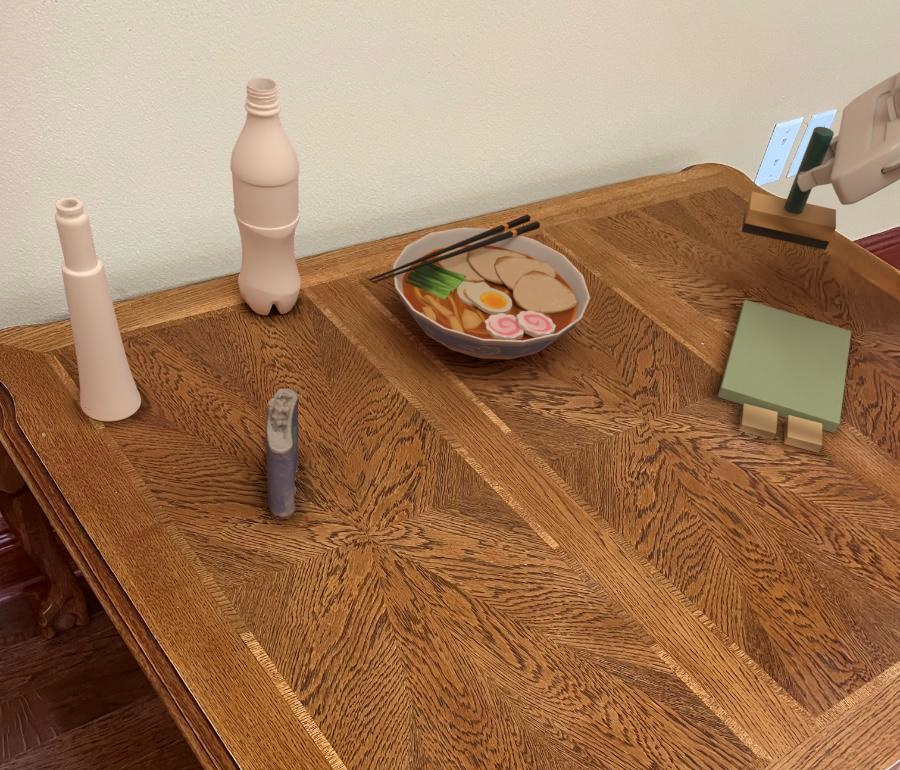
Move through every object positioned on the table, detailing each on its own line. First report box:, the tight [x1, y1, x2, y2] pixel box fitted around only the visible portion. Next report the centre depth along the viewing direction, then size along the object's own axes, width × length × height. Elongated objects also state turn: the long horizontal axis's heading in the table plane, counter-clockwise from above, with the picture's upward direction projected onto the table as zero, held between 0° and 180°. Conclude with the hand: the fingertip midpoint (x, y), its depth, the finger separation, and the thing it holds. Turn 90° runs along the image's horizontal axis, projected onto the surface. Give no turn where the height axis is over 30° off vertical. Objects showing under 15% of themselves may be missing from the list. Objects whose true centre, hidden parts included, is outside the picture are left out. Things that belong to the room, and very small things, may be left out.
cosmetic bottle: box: [54, 196, 142, 422], centre depth 89 cm, size 6×6×22 cm
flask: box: [264, 387, 300, 520], centre depth 89 cm, size 9×3×11 cm, turn 2°
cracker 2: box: [783, 415, 823, 454], centre depth 107 cm, size 4×4×1 cm
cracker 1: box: [738, 403, 778, 441], centre depth 108 cm, size 4×4×1 cm
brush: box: [741, 126, 837, 251], centre depth 107 cm, size 10×4×12 cm, turn 75°
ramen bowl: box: [369, 214, 591, 360], centre depth 110 cm, size 25×23×8 cm
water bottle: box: [229, 76, 302, 316], centre depth 102 cm, size 7×7×25 cm
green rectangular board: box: [717, 299, 852, 434], centre depth 115 cm, size 20×14×2 cm
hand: (801, 176), depth 107 cm, fingers closed on brush, 2 cm apart
